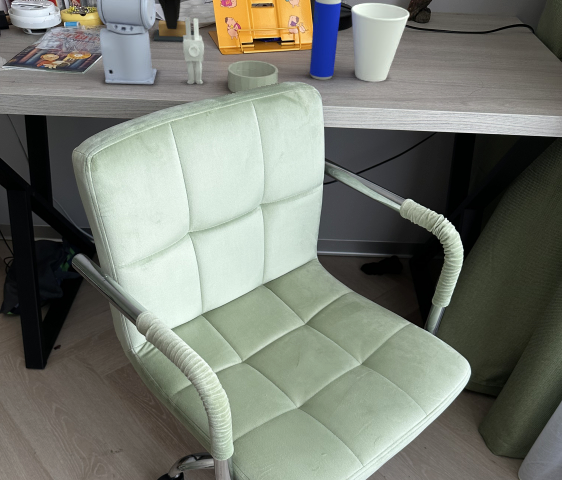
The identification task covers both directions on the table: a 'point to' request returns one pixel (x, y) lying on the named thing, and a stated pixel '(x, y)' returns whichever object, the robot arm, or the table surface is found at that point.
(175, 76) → the table surface
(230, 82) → the tin
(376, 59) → the cup
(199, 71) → the toy robot
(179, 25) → the tan wooden block
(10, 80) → the table surface
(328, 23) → the beverage can
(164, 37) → the coaster
